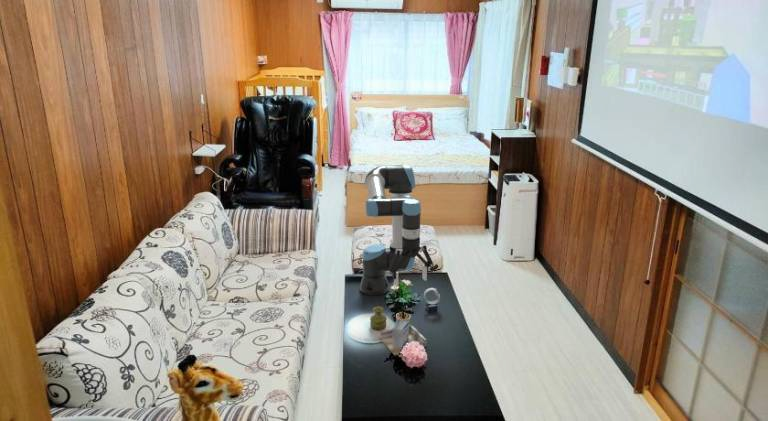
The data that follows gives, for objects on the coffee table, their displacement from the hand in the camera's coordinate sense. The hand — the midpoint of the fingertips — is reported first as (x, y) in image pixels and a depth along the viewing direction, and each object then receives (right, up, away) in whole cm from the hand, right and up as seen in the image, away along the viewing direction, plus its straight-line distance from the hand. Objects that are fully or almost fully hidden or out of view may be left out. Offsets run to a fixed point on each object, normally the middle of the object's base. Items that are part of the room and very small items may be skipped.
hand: (410, 282), depth 226 cm
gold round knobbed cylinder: (-14, -22, +11) cm, 28 cm away
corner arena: (-3, -26, -2) cm, 26 cm away
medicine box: (-4, -25, -4) cm, 26 cm away
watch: (+12, -17, +27) cm, 34 cm away
